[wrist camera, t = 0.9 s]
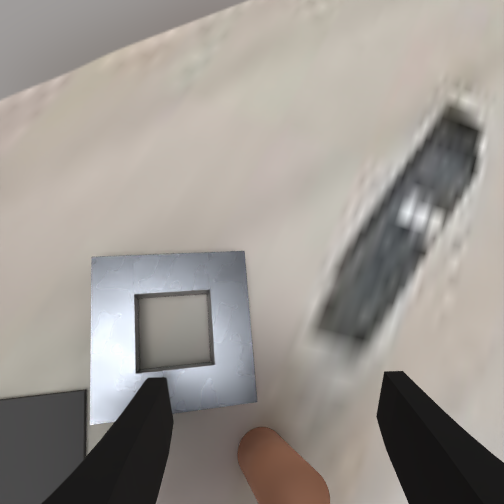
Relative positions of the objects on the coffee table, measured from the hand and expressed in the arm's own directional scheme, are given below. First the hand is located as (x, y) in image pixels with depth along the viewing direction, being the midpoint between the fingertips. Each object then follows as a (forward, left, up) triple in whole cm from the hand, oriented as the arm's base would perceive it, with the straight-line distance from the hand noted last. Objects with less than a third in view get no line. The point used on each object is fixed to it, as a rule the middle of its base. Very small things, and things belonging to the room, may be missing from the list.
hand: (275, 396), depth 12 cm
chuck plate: (+3, +3, -12) cm, 12 cm away
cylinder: (-5, -2, -12) cm, 13 cm away
